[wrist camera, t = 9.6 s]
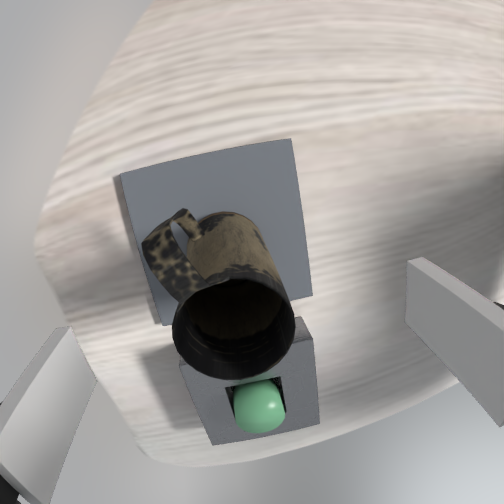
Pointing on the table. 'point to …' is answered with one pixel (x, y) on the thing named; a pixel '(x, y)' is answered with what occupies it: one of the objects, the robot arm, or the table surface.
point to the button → (258, 406)
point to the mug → (222, 295)
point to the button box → (287, 370)
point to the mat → (225, 206)
